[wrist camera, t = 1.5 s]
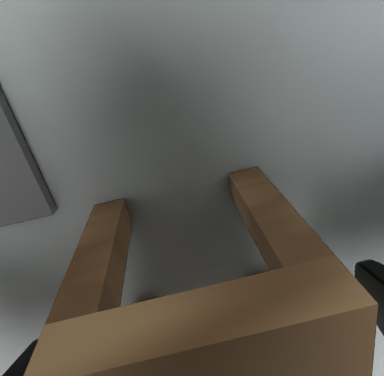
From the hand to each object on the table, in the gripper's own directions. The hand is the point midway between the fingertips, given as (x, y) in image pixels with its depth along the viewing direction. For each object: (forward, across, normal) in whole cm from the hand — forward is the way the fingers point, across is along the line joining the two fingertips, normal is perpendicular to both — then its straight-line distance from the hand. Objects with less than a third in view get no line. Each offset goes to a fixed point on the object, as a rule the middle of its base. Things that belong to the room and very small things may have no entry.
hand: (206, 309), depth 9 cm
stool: (+3, 0, 0) cm, 3 cm away
